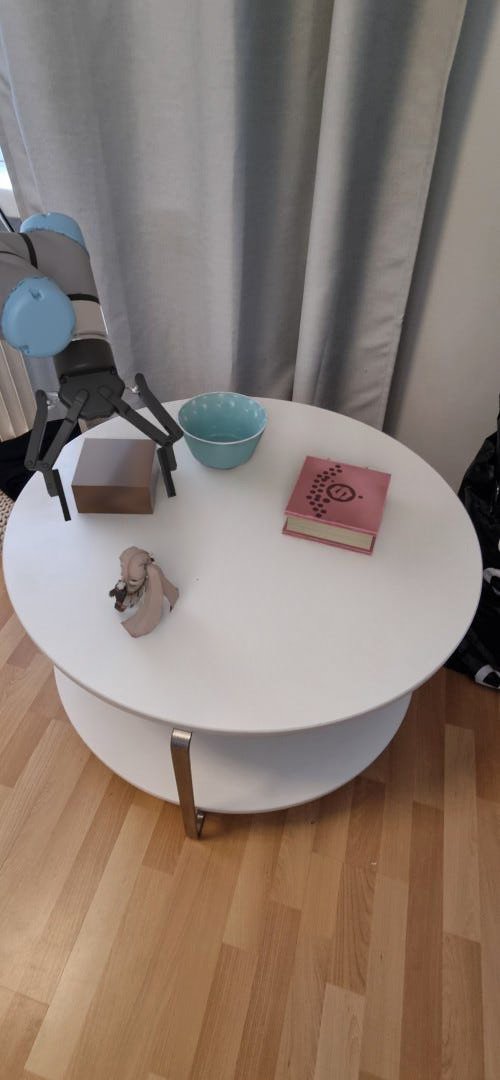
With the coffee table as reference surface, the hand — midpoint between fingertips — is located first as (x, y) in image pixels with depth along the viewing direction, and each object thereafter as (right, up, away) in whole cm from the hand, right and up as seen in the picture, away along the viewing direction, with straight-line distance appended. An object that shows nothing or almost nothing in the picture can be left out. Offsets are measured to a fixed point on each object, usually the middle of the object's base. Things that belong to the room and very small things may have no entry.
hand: (121, 508), depth 76 cm
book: (+31, 0, +21) cm, 37 cm away
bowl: (+12, +12, +30) cm, 34 cm away
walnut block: (-5, +5, +23) cm, 24 cm away
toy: (+2, -15, +5) cm, 16 cm away
